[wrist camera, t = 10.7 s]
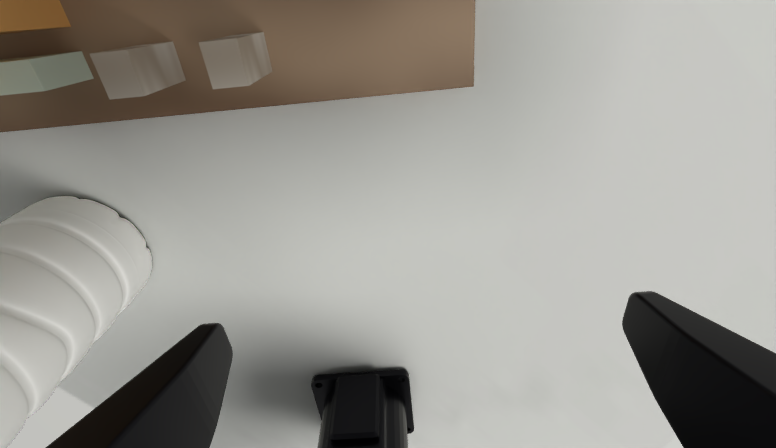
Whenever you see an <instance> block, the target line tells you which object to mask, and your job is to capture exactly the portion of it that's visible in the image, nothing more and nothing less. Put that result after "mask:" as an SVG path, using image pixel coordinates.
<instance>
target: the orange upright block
mask: <svg viewBox="0 0 776 448" xmlns="http://www.w3.org/2000/svg"><path fill="white" fill-rule="evenodd" d="M63 27H71V25H70V23H69V20H68V18H67V16H66V14H65V12H64V9H63V7H62V5H61V3H60V1H59V0H0V35H2V34H10V33H19V32H28V31H37V30H45V29H54V28H63Z"/></svg>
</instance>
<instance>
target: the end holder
mask: <svg viewBox="0 0 776 448" xmlns="http://www.w3.org/2000/svg"><path fill="white" fill-rule="evenodd" d="M90 79H94V78H93V75H92V73H91V71H90V69H89V66H88V64H87V62H86V60H85V58H84V55H83V53H82V51H78V52H68V53H59V54H49V55H40V56H30V57H21V58H11V59H2V60H0V96H2V95H11V94H21V93H31V92H41V91H48V90H51V89H55V88H59V87H63V86H67V85H71V84H75V83H79V82H83V81H86V80H90Z"/></svg>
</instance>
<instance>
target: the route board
mask: <svg viewBox="0 0 776 448" xmlns="http://www.w3.org/2000/svg"><path fill="white" fill-rule="evenodd" d="M59 1H60V3H61V5H62V7H63V9H64V12H65V14H66V16H67V18H68V20H69V23H70V25H71V27H63V28H54V29H45V30H37V31H28V32H19V33H10V34H2V35H0V60H2V59H11V58H21V57H30V56H40V55H49V54H59V53H68V52H78V51H82V53H83V55H84V58H85V60H86V62H87V64H88V66H89V69H90V71H91V73H92V75H93V78H94V79H90V80H86V81H83V82H79V83H75V84H71V85H67V86H63V87H59V88H55V89H51V90H48V91H41V92H31V93H21V94H11V95H2V96H0V132H8V131H18V130H28V129H39V128H49V127H59V126H70V125H80V124H90V123H101V122H111V121H121V120H132V119H142V118H152V117H163V116H173V115H183V114H194V113H204V112H214V111H225V110H235V109H245V108H256V107H266V106H277V105H287V104H297V103H308V102H318V101H328V100H339V99H349V98H359V97H370V96H380V95H390V94H401V93H411V92H421V91H432V90H442V89H452V88H463V87H473V86H474V36H475V0H59Z"/></svg>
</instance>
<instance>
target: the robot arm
mask: <svg viewBox="0 0 776 448" xmlns="http://www.w3.org/2000/svg"><path fill="white" fill-rule="evenodd" d="M622 325H623V330H624V333H625V335H626V337H627V339H628V342H629V344H630V346H631V348H632V350H633V352H634V355H635V357H636V359H637V361H638V363H639V366H640V368H641V370H642V372H643V374H644V376H645V379H646V381H647V383H648V385H649V387H650V389H651V391H652V393H653V395H654V397H655V399H656V401H657V403H658V405H659V406H660V408H661V410H662V412H663V413H664V415H665V417H666V418H667V420H668V422H669V424H670V425H671V427H672V429H673V430H674V432H675V434H676V435H677V437H678V439H679V440H680V442H681V444H682V446H683V447H684V448H776V353H774V352H772V351H770V350H768V349H766V348H764V347H762V346H760V345H758V344H756V343H754V342H752V341H750V340H748V339H746V338H744V337H742V336H740V335H738V334H736V333H734V332H732V331H731V330H729V329H727V328H725V327H723V326H721V325H719V324H717V323H715V322H713V321H711V320H709V319H707V318H705V317H703V316H701V315H699V314H697V313H695V312H693V311H691V310H689V309H687V308H685V307H683V306H681V305H679V304H677V303H675V302H673V301H671V300H670V299H668V298H666V297H664V296H662V295H660V294H658V293H655V292H652V291H646V292H635V293H632V294H631V295H630V297H629V299H628V303H627V306H626V310H625V313H624V317H623V321H622ZM232 356H233V351H232V347H231V344H230V342H229V340H228V337H227V335H226V333H225V330H224V328H223V326H222V325H221V324H220V323H208V324H202V325H200V326H198V327H197V328H196V329H194V330H193V331H192V332H191V333H189V334H188V335H187V336H186V337H184V338H183V339H182V340H180V341H179V342H178V343H177V344H175V345H174V346H173V347H172V348H170V349H169V350H168V351H167V352H165V353H164V354H163V355H162V356H160V357H159V358H158V359H157V360H155V361H154V362H153V363H152V364H150V365H149V366H148V367H147V368H145V369H144V370H143V371H141V372H140V373H139V374H138V375H136V376H135V377H134V378H133V379H131V380H130V381H129V382H128V383H126V384H125V385H124V386H123V387H121V388H120V389H119V390H118V391H116V392H115V393H114V394H113V395H111V396H110V397H109V398H108V399H106V400H105V401H104V402H102V403H101V404H100V405H99V406H97V407H96V408H95V409H94V410H92V411H91V412H90V413H89V414H87V415H86V416H85V417H84V418H82V419H81V420H80V421H79V422H77V423H76V424H75V425H74V426H72V427H71V428H70V429H68V430H67V431H66V432H65V433H63V434H62V435H61V436H60V437H58V438H57V439H56V440H55V441H53V442H52V443H51V444H50V445H49V446H47V447H46V448H209V447H210V444H211V441H212V438H213V435H214V432H215V429H216V426H217V422H218V418H219V415H220V410H221V406H222V401H223V397H224V393H225V388H226V384H227V380H228V375H229V371H230V366H231V362H232ZM311 386H312V390H313V393H314V396H315V400H316V403H317V407H318V410H319V413H320V417H321V420H322V422H321V429H320V435H319V442H318V448H408V439H407V434H409V433H412V432H413V431H414V423H413V413H412V403H411V392H410V382H409V374H408V372H407V371H405V370H390V371H375V372H360V373H345V374H330V375H317V376H315V377H313V379H312V383H311Z"/></svg>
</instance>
